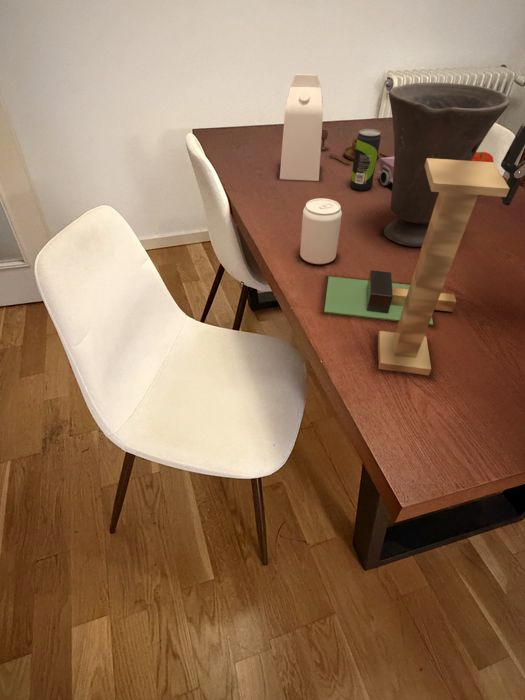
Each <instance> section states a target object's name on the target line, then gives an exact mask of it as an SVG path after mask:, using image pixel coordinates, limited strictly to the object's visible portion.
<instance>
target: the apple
mask: <svg viewBox="0 0 525 700" xmlns="http://www.w3.org/2000/svg"><path fill="white" fill-rule="evenodd" d="M471 161H479V162H494V163H495V161H494V156H493V155H492V154H490V153H489V152H486V151H476V153H475V155H474V157H473V158H472V160H471Z"/></svg>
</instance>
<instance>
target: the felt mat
mask: <svg viewBox="0 0 525 700" xmlns="http://www.w3.org/2000/svg"><path fill="white" fill-rule="evenodd" d="M368 280H369V279H360V278H359V279H358V278H348V277H338V276H328V278H327V286H326V293H325V302H324V309H323V314H331V315H339V316H346V317H347V316H348V317H356V318H364V319H365V318H366V319H373V320H381V321H390V322H399V319H400V316H401V313H402V310H403V306H398V305H390V308H389V312H388V313H381V312H373V311H367V284H368ZM409 287H410V284H405V283H397V282H392V288H400V289H409ZM428 326H434V321H433V316H432V317H431V320H430V323H429V325H428Z"/></svg>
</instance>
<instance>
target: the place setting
mask: <svg viewBox="0 0 525 700" xmlns="http://www.w3.org/2000/svg"><path fill="white" fill-rule="evenodd" d="M328 134H329V131H328V130H327V129H322V136H321V151H326V150H327V147H325V141H326V140H328ZM356 143H357V138H355V139H353V140H352V143H351V145H350V146H348V147H346V148H344V149H343V155H344V157H345V158H347V159H348V160H350V161H353V162H354V156H355V150H356ZM380 154H381V155H383V156H385V157H389V156H388V155H387V154H385V153H384V152H382V151H380V149H379V150H378V155H377V159H378V158H379V156H380ZM329 155H330V156H331V157H332V158H333V159H337V160H339V161H340V162H342V163H344V164H345V165H349V163H348V162H346V161H344V160H343V159H341V158H339V157H337V156H336V155H335V154H334V153H333V152H332V153H329Z"/></svg>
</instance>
